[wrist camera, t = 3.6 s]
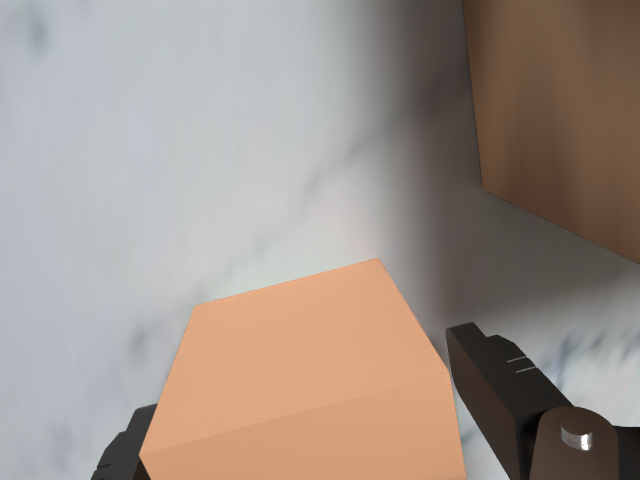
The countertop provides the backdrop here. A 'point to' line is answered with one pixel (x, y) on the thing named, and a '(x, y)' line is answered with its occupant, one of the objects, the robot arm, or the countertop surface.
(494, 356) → the robot arm
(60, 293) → the countertop surface
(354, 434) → the block
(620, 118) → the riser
